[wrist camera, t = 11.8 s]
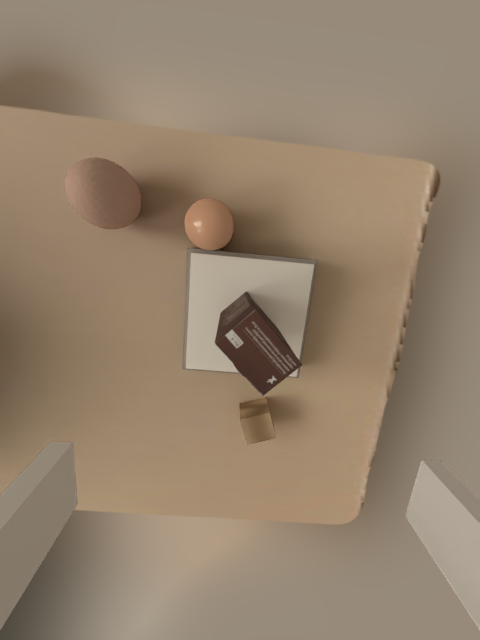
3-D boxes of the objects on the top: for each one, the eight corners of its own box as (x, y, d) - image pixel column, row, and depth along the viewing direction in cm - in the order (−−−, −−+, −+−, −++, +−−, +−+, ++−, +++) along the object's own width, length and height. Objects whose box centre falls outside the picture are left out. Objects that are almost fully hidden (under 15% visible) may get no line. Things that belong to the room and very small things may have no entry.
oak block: (246, 426, 40) (247, 444, 37) (239, 403, 39) (240, 419, 36) (272, 420, 40) (276, 437, 36) (266, 396, 39) (269, 412, 35)
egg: (146, 237, 33) (115, 232, 25) (92, 224, 33) (40, 214, 24) (154, 180, 32) (124, 153, 23) (97, 166, 31) (44, 132, 23)
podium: (186, 359, 37) (181, 371, 34) (192, 248, 34) (186, 247, 30) (293, 367, 38) (300, 380, 34) (309, 259, 34) (319, 260, 31)
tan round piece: (192, 248, 34) (183, 247, 28) (194, 205, 33) (185, 196, 27) (231, 251, 34) (231, 252, 28) (235, 209, 33) (235, 200, 27)
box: (279, 325, 32) (305, 367, 21) (250, 348, 33) (259, 401, 21) (247, 287, 31) (256, 308, 20) (218, 311, 32) (209, 346, 20)
